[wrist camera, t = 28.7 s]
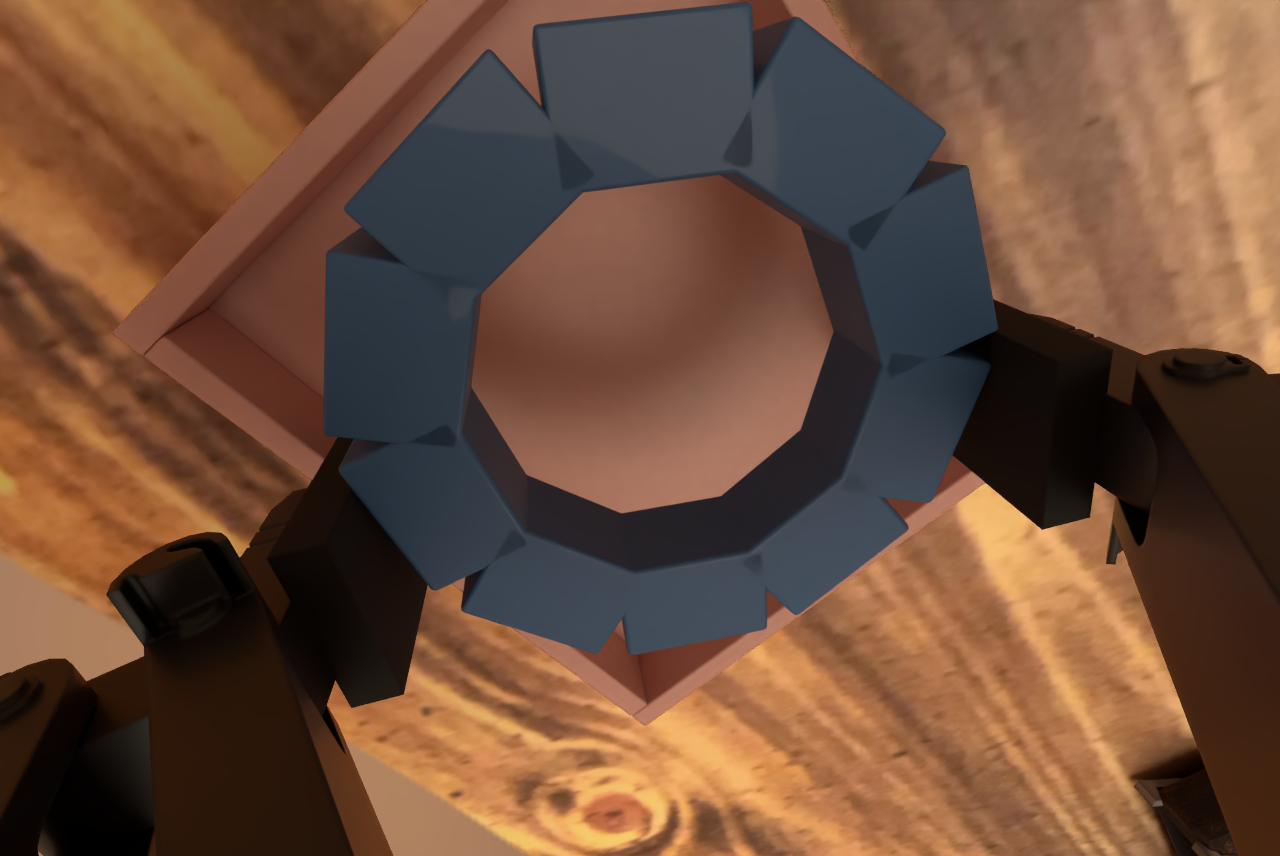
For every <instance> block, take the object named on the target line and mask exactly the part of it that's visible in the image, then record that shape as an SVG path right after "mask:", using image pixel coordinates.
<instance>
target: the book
mask: <svg viewBox="0 0 1280 856" xmlns="http://www.w3.org/2000/svg"><path fill="white" fill-rule="evenodd" d="M1134 787H1135V788H1136V789H1137V790H1138V791H1139V793H1140V794H1141V795H1142V796H1143V797H1144V798H1145V799H1146V801H1147V802H1148V803H1149V804H1150V805H1151V806H1152V807H1156V806H1157V808H1158V811H1159V813H1160V816H1161V818H1162V820H1163V823H1164V825H1165V828H1166V830H1167V832H1168V835H1169V837H1170V840H1171V842H1172V845H1173V847H1174V849H1175V852H1176V854H1177V856H1238V853H1237V851H1236V848H1235V845H1234V843H1233V840H1232V837H1231V835H1230V832H1229V829H1228V827H1227V824H1226V821H1225V819H1224V816H1223V813H1222V811H1221V808H1220V806H1219V803H1218V800H1217V798H1216V795H1215V792H1214V790H1213V787H1212V784H1211V782H1210V779H1209V776H1208V774H1207V771H1206V768H1205V769H1203V770H1201V771H1199V772H1197V773H1194V774H1192V775H1190V776H1188V777H1186V778H1172V779H1155V780H1139V781H1137V783H1136V784H1135V786H1134Z"/></svg>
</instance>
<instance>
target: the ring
mask: <svg viewBox="0 0 1280 856" xmlns="http://www.w3.org/2000/svg"><path fill="white" fill-rule="evenodd" d="M532 48H533V55H534V61H535V68H536V74H537V81H538V87H539V94H540V100H541V105H540V104H539V103H538V102H537V101H536V100H535V99H534V97H533V96H532V95H531V94H530V93H529V92H528V91H527V89H526V88H525V87H524V86H523V85H522V84H521V83H520V82H519V80H518V79H517V78H516V77H515V76H514V75H513V74H512V72H511V71H510V70H509V69H508V68H507V67H506V66H505V64H504V63H503V62H502V61H501V60H500V59H499V58H498V56H497V55H496V54H495V53H494V52H493V51H492V50H490V49H487V50H485V51H484V52H483V53H482V54H481V56H480V57H479V58H478V59H477V60H476V61H475V62H474V63H473V64H472V65H471V67H470V68H469V69H468V70H467V71H466V72H465V73H464V74H463V75H462V76H461V78H460V79H459V80H458V81H457V82H456V83H455V84H454V85H453V86H452V87H451V89H450V90H449V91H448V92H447V93H446V94H445V95H444V96H443V97H442V99H441V100H440V101H439V102H438V103H437V104H436V105H435V106H434V107H433V108H432V110H431V111H430V112H429V113H428V114H427V115H426V116H425V117H424V118H423V119H422V121H421V122H420V123H419V124H418V125H417V126H416V127H415V128H414V129H413V130H412V132H411V133H410V134H409V135H408V136H407V137H406V138H405V139H404V140H403V141H402V143H401V144H400V145H399V146H398V147H397V148H396V149H395V150H394V151H393V153H392V154H391V155H390V156H389V157H388V158H387V159H386V160H385V161H384V162H383V164H382V165H381V166H380V167H379V168H378V169H377V170H376V171H375V172H374V173H373V175H372V176H371V177H370V178H369V179H368V180H367V181H366V182H365V183H364V184H363V186H362V187H361V188H360V189H359V190H358V191H357V192H356V193H355V194H354V195H353V197H352V198H351V199H350V200H349V201H348V202H347V203H346V204H345V205H344V211H345V212H346V213H347V214H348V215H349V216H350V217H351V218H352V219H353V220H355V221H356V222H357V223H358V224H359V225H360V226H361V227H362V228H359V229H357V230H356V231H355V232H353V233H352V234H350V235H349V236H348V237H346V238H345V239H343V240H342V241H341V242H339V243H338V244H336V245H335V246H334V247H332V248H331V249H329V250H328V251H327V253H326V275H325V333H324V391H323V433H324V435H326V436H334V437H343V438H352V439H354V440H353V442H352V444H351V446H350V447H349V449H348V451H347V453H346V455H345V457H344V459H343V461H342V463H341V465H340V466H339V472H340V475H341V476H342V477H343V478H344V480H345V481H346V482H347V483H348V485H349V486H350V487H351V489H352V490H353V491H354V492H355V494H356V495H357V496H358V497H359V499H360V500H361V501H362V502H363V504H364V505H365V506H366V507H367V509H368V510H369V511H370V513H371V514H372V515H373V516H374V518H375V519H376V520H377V521H378V523H379V524H380V525H381V526H382V528H383V529H384V530H385V531H386V533H387V534H388V535H389V536H390V538H391V539H392V540H393V542H394V543H395V544H396V545H397V547H398V548H399V549H400V550H401V552H402V553H403V554H404V555H405V557H406V558H407V559H408V560H409V562H410V563H411V564H412V565H413V567H414V568H415V569H416V571H417V572H418V573H419V574H420V576H421V577H422V578H423V579H424V581H425V582H426V583H427V584H428V586H429V587H430V588H431V589H432V590H439V589H441V588H443V587H445V586H447V585H450V584H452V583H454V582H456V581H458V580H460V579H462V578H465V583H464V590H463V598H462V605H461V610H462V611H463V612H465V613H468V614H471V615H474V616H478V617H481V618H484V619H487V620H490V621H493V622H496V623H499V624H503V625H506V626H509V627H512V628H515V629H518V630H521V631H525V632H528V633H531V634H534V635H537V636H540V637H543V638H546V639H550V640H553V641H556V642H559V643H562V644H565V645H568V646H572V647H575V648H578V649H581V650H584V651H587V652H590V653H594V654H598V653H599V652H600V651H601V649H602V648H603V646H604V645H605V643H606V642H607V640H608V639H609V637H610V636H611V634H612V633H613V631H614V630H615V628H616V627H617V625H618V624H619V622H620V621H621V620H622V625H623V631H624V636H625V642H626V647H627V651H628V653H629V654H630V655H636V654H642V653H647V652H652V651H657V650H662V649H668V648H673V647H678V646H683V645H688V644H693V643H699V642H704V641H709V640H714V639H719V638H725V637H730V636H735V635H740V634H745V633H751V632H756V631H761V630H764V629H766V628H767V594H766V590H767V591H768V592H769V593H770V594H771V595H773V596H774V597H775V598H776V599H777V600H778V601H779V602H780V603H781V604H783V605H784V606H785V607H786V608H787V609H788V610H789V611H790V612H791V613H793V614H794V615H798V614H800V613H801V612H803V611H804V610H805V609H807V608H808V607H809V606H810V605H812V604H813V603H814V602H816V601H817V600H818V599H820V598H821V597H822V596H823V595H825V594H826V593H827V592H829V591H830V590H831V589H833V588H834V587H835V586H836V585H838V584H839V583H840V582H842V581H843V580H844V579H846V578H847V577H848V576H850V575H851V574H852V573H853V572H855V571H856V570H857V569H859V568H860V567H861V566H863V565H864V564H865V563H866V562H868V561H869V560H870V559H872V558H873V557H874V556H876V555H877V554H878V553H879V552H881V551H882V550H883V549H885V548H886V547H887V546H889V545H890V544H891V543H893V542H894V541H895V540H896V539H898V538H899V537H900V536H902V535H903V534H904V533H906V532H907V531H908V529H909V527H908V524H907V523H906V522H905V520H904V519H903V518H902V517H901V516H900V515H899V514H898V512H897V511H896V510H895V509H894V508H893V507H892V506H891V505H890V503H889V502H888V501H887V500H886V499H885V498H890V499H899V500H908V501H917V502H926V503H929V502H931V501H932V500H933V498H934V495H935V493H936V491H937V489H938V486H939V484H940V482H941V480H942V477H943V475H944V473H945V471H946V468H947V466H948V464H949V462H950V459H951V457H952V455H953V453H954V450H955V448H956V446H957V444H958V441H959V439H960V437H961V435H962V432H963V430H964V428H965V426H966V423H967V421H968V419H969V417H970V414H971V412H972V410H973V408H974V405H975V403H976V401H977V399H978V396H979V394H980V392H981V390H982V387H983V385H984V383H985V381H986V378H987V376H988V374H989V372H990V369H991V364H990V363H989V362H988V361H986V360H984V359H982V358H981V357H979V356H977V355H975V354H973V353H972V352H970V351H968V350H966V349H964V348H962V347H963V346H965V345H967V344H969V343H971V342H973V341H975V340H978V339H980V338H982V337H984V336H986V335H988V334H990V333H993V332H995V331H997V330H998V324H997V318H996V313H995V308H994V302H993V297H992V291H991V286H990V281H989V275H988V270H987V265H986V259H985V254H984V248H983V243H982V238H981V232H980V227H979V221H978V216H977V211H976V205H975V200H974V195H973V189H972V184H971V178H970V173H969V168H968V167H967V166H965V165H958V164H950V163H943V162H935V161H928V160H929V159H930V157H931V156H932V154H933V153H934V151H935V150H936V148H937V147H938V145H939V144H940V142H941V141H942V139H943V138H944V136H945V134H946V132H945V130H944V128H943V127H941V126H940V125H939V124H937V123H936V122H935V121H933V120H932V119H931V118H930V117H928V116H927V115H926V114H924V113H923V112H922V111H920V110H919V109H918V108H917V107H915V106H914V105H913V104H911V103H910V102H909V101H908V100H906V99H905V98H904V97H902V96H901V95H900V94H898V93H897V92H896V91H895V90H893V89H892V88H891V87H889V86H888V85H887V84H885V83H884V82H883V81H882V80H880V79H879V78H878V77H876V76H875V75H874V74H872V73H871V72H870V71H869V70H867V69H866V68H865V67H863V66H862V65H861V64H860V63H858V62H857V61H856V60H854V59H853V58H852V57H850V56H849V55H848V54H847V53H845V52H844V51H843V50H841V49H840V48H839V47H837V46H836V45H835V44H834V43H832V42H831V41H830V40H828V39H827V38H826V37H824V36H823V35H822V34H821V33H819V32H818V31H817V30H815V29H814V28H813V27H812V26H810V25H809V24H808V23H806V22H805V21H804V20H802V19H801V18H800V17H796V16H795V17H792V18H789V19H786V20H783V21H780V22H777V23H774V24H771V25H768V26H765V27H763V28H760V29H757V30H754V31H753V15H752V5H751V3H749V2H739V3H729V4H720V5H711V6H701V7H692V8H683V9H673V10H664V11H654V12H645V13H636V14H626V15H617V16H607V17H598V18H589V19H579V20H570V21H560V22H551V23H542V24H536V25H535V26H534V27H533V33H532ZM541 106H542V107H541ZM715 175H721V176H722V177H724V178H725V179H727V180H729V181H730V182H732V183H733V184H735V185H736V186H738V187H740V188H741V189H743V190H744V191H746V192H747V193H749V194H751V195H752V196H754V197H755V198H757V199H758V200H760V201H762V202H763V203H765V204H766V205H768V206H769V207H771V208H773V209H774V210H776V211H777V212H779V213H780V214H782V215H783V216H785V217H787V218H788V219H790V220H791V221H793V222H794V223H796V224H798V225H799V226H801V229H802V232H803V236H804V239H805V242H806V245H807V248H808V251H809V255H810V258H811V261H812V264H813V267H814V270H815V274H816V277H817V280H818V283H819V286H820V289H821V293H822V296H823V299H824V302H825V305H826V308H827V312H828V315H829V318H830V321H831V324H832V327H833V334H832V337H831V340H830V343H829V346H828V349H827V352H826V355H825V358H824V361H823V364H822V367H821V370H820V373H819V376H818V379H817V382H816V385H815V388H814V391H813V394H812V397H811V400H810V403H809V406H808V409H807V412H806V415H805V418H804V421H803V424H802V427H801V430H800V431H798V432H797V433H796V434H795V435H794V436H792V437H791V438H790V439H789V440H788V441H786V442H785V443H784V444H783V445H782V446H780V447H779V448H778V449H777V450H776V451H774V452H773V453H772V454H771V455H770V456H768V457H767V458H766V459H765V460H764V461H762V462H761V463H760V464H759V465H758V466H756V467H755V468H754V469H753V470H752V471H750V472H749V473H748V474H747V475H746V476H744V477H743V478H742V479H741V480H740V481H738V482H737V483H736V484H735V485H734V486H732V487H731V488H730V489H729V490H728V491H726V492H725V493H724V494H723V495H722V496H718V497H713V498H707V499H701V500H695V501H690V502H684V503H678V504H672V505H667V506H661V507H655V508H649V509H643V510H638V511H632V512H626V513H620V512H617V511H615V510H612V509H610V508H607V507H605V506H602V505H600V504H597V503H595V502H592V501H590V500H587V499H585V498H583V497H580V496H578V495H575V494H573V493H570V492H568V491H565V490H563V489H560V488H558V487H555V486H553V485H550V484H548V483H546V482H543V481H541V480H538V479H536V478H533V477H531V476H528V475H526V473H525V472H524V470H523V468H522V467H521V465H520V464H519V462H518V460H517V459H516V457H515V456H514V454H513V452H512V451H511V449H510V448H509V446H508V444H507V443H506V441H505V440H504V438H503V436H502V435H501V433H500V432H499V430H498V429H497V427H496V425H495V424H494V422H493V421H492V419H491V417H490V416H489V414H488V413H487V411H486V409H485V408H484V406H483V405H482V403H481V401H480V400H479V398H478V397H477V395H476V393H475V392H474V390H473V389H472V387H471V385H472V376H473V368H474V359H475V350H476V341H477V332H478V323H479V315H480V306H481V297H482V293H483V292H484V291H485V290H486V289H487V288H488V287H489V286H490V285H491V284H492V283H493V282H494V281H495V280H496V279H497V278H498V277H499V276H500V275H501V274H502V273H503V272H504V271H505V270H506V269H507V268H508V267H509V266H510V265H511V264H512V263H513V262H514V261H515V260H516V259H517V258H518V257H519V256H520V255H521V254H522V253H523V252H524V251H525V250H526V249H527V248H528V247H529V246H530V245H531V244H532V243H533V242H534V241H535V240H536V239H537V238H538V237H539V236H540V235H541V234H542V233H543V232H544V231H545V230H546V229H547V228H548V227H549V226H550V225H551V224H552V223H553V222H554V221H555V220H556V219H557V218H558V217H559V216H560V215H561V214H562V213H563V212H564V211H565V210H566V209H567V208H568V207H569V206H570V205H571V204H572V203H573V202H574V201H575V200H576V199H577V198H578V197H579V196H580V195H581V194H582V193H584V192H592V191H599V190H607V189H615V188H622V187H630V186H638V185H646V184H653V183H661V182H669V181H676V180H684V179H692V178H700V177H707V176H715Z"/></svg>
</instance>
